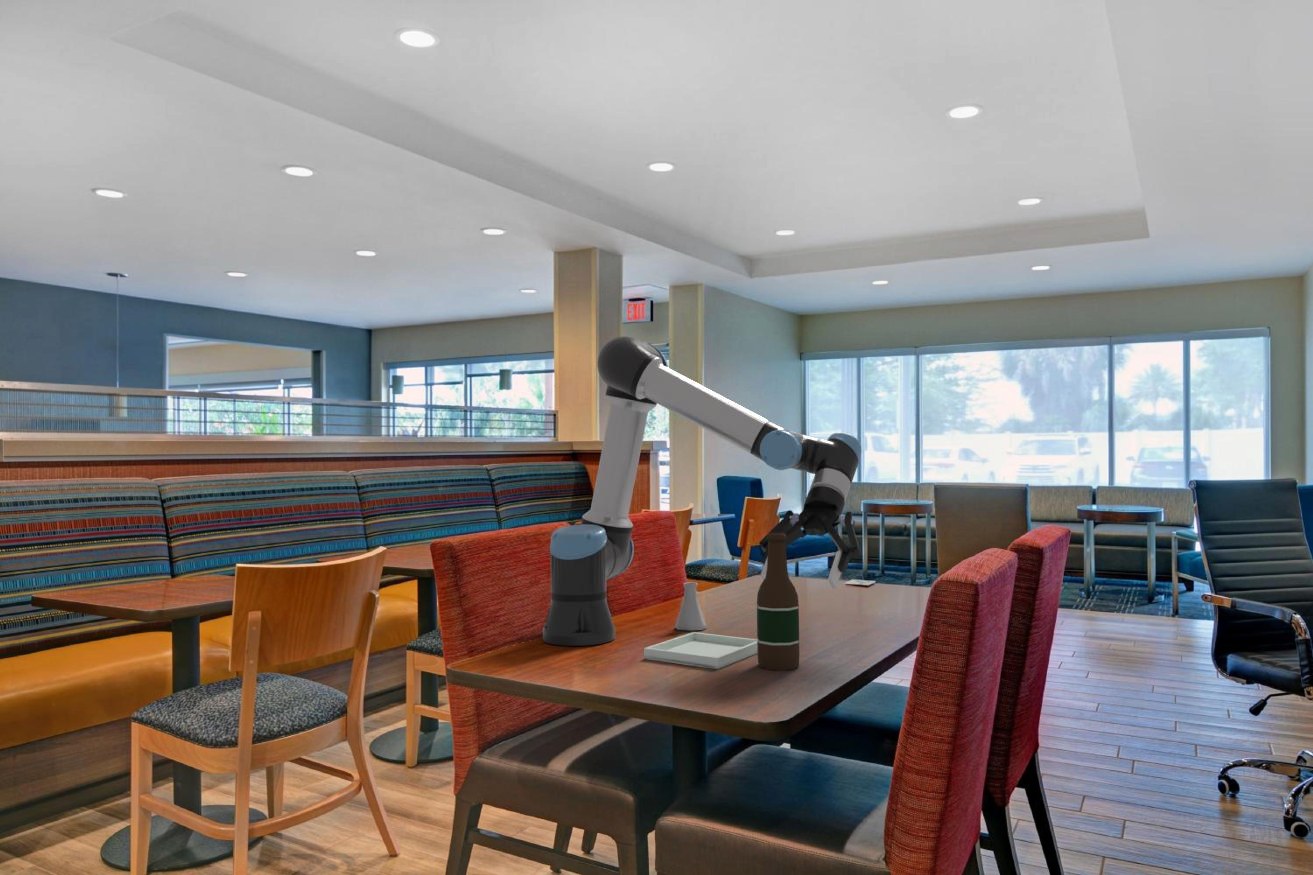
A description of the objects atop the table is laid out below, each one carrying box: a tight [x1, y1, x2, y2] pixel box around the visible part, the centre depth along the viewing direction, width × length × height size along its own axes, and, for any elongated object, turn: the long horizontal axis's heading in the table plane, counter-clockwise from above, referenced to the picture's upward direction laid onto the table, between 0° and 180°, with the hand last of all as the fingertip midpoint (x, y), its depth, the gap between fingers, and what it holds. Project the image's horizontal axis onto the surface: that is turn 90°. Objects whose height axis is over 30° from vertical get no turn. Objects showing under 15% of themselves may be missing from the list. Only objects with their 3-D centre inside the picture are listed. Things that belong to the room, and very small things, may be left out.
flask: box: [674, 582, 708, 632], centre depth 198 cm, size 7×7×10 cm
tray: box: [643, 631, 758, 670], centre depth 172 cm, size 16×18×2 cm
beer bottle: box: [756, 532, 800, 671], centre depth 162 cm, size 8×8×24 cm
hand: (797, 581), depth 167 cm, fingers open, 13 cm apart
